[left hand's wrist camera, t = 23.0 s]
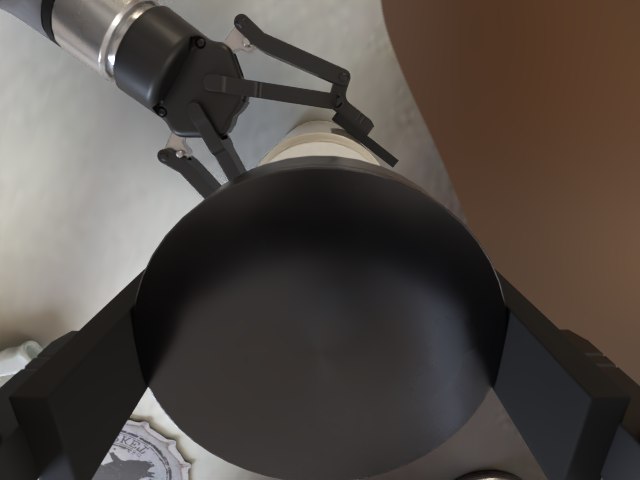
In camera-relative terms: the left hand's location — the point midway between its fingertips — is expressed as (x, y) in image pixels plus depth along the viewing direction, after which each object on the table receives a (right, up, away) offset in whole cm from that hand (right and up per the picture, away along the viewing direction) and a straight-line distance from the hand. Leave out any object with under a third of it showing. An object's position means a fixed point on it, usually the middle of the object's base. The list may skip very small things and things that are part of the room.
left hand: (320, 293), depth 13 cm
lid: (0, -1, -3) cm, 3 cm away
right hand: (+4, +5, +21) cm, 22 cm away
